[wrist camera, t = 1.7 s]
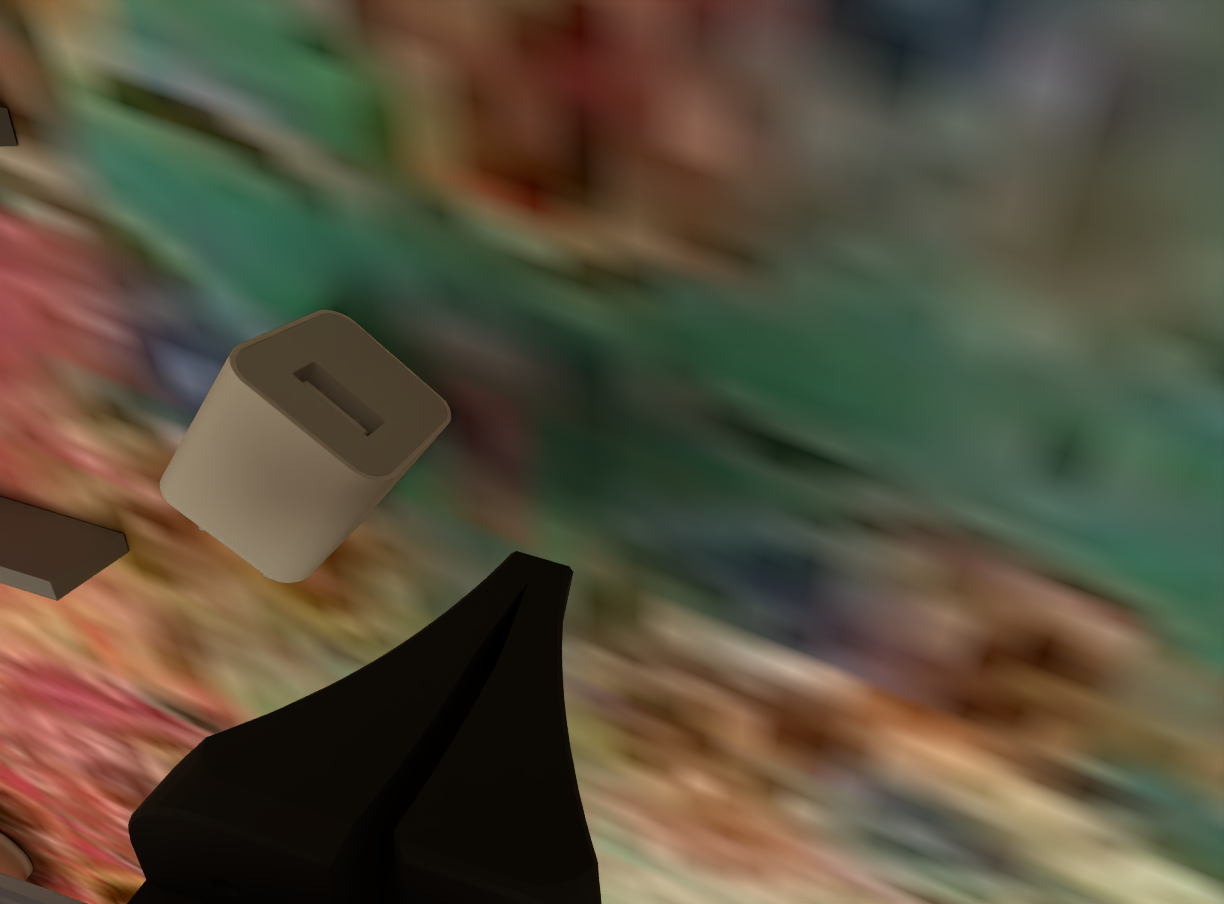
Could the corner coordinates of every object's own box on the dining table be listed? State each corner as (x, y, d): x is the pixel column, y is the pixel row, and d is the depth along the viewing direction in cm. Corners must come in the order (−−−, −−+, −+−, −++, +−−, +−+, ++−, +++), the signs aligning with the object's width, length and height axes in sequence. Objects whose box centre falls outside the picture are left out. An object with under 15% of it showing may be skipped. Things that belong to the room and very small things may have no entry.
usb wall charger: (460, 412, 16) (379, 492, 12) (340, 549, 19) (249, 643, 16) (335, 303, 15) (210, 356, 12) (232, 464, 18) (111, 544, 15)
